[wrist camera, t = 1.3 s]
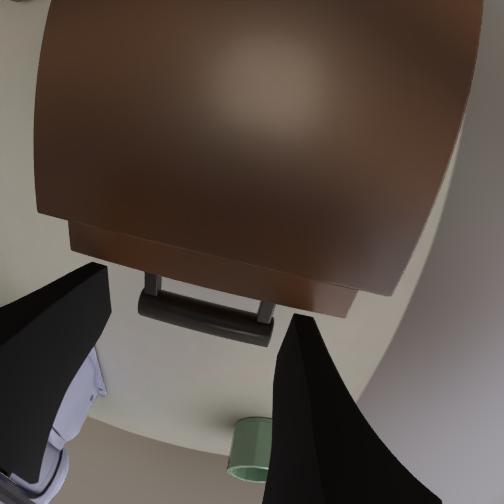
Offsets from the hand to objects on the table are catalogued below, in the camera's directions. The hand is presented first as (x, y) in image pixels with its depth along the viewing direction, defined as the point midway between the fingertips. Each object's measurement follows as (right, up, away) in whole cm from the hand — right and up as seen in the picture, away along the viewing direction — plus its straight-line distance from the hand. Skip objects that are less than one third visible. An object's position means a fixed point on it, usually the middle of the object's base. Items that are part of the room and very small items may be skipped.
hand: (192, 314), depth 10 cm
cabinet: (+3, +12, +3) cm, 13 cm away
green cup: (+3, -16, +19) cm, 25 cm away
